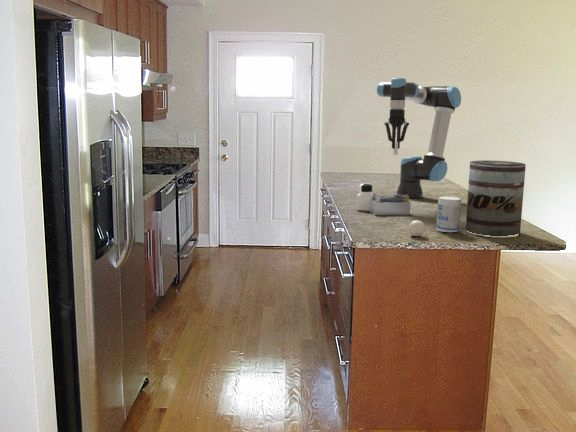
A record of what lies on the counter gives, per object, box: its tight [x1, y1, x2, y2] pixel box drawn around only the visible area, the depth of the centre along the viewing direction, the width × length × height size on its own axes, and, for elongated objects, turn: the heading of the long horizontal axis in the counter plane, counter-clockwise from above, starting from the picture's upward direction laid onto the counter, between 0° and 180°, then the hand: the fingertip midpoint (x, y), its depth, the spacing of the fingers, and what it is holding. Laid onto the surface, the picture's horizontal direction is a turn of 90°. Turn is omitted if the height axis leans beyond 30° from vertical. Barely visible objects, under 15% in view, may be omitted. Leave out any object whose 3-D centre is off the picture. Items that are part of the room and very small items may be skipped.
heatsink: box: [368, 192, 411, 216], centre depth 321 cm, size 18×10×10 cm, turn 97°
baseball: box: [408, 219, 426, 237], centre depth 268 cm, size 7×7×7 cm
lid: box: [375, 194, 407, 201], centre depth 321 cm, size 16×4×2 cm, turn 97°
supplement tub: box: [435, 195, 462, 233], centre depth 278 cm, size 10×10×15 cm
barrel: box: [465, 159, 527, 236], centre depth 277 cm, size 22×22×30 cm
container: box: [355, 183, 373, 212], centre depth 330 cm, size 8×8×13 cm
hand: (395, 154), depth 335 cm, fingers closed
